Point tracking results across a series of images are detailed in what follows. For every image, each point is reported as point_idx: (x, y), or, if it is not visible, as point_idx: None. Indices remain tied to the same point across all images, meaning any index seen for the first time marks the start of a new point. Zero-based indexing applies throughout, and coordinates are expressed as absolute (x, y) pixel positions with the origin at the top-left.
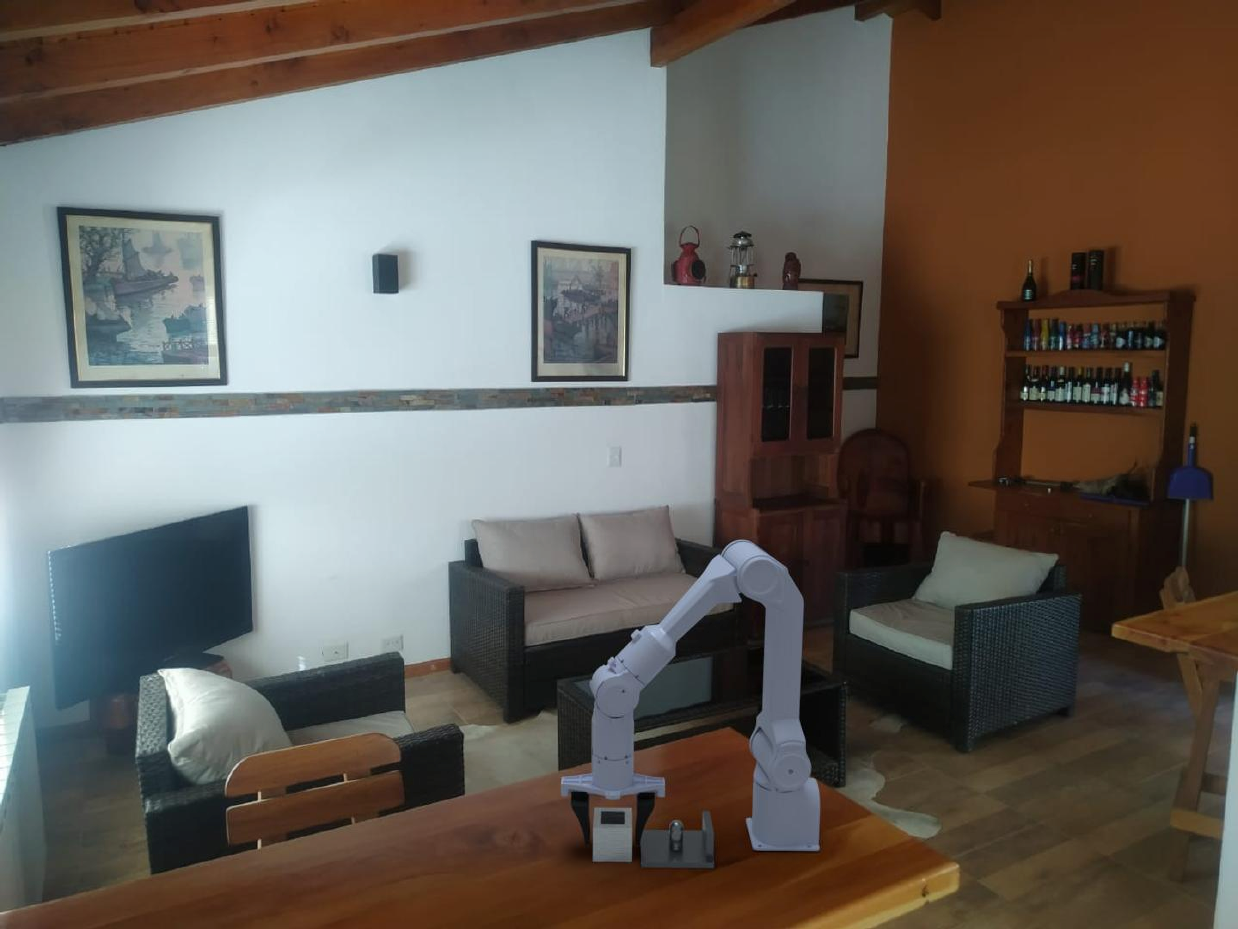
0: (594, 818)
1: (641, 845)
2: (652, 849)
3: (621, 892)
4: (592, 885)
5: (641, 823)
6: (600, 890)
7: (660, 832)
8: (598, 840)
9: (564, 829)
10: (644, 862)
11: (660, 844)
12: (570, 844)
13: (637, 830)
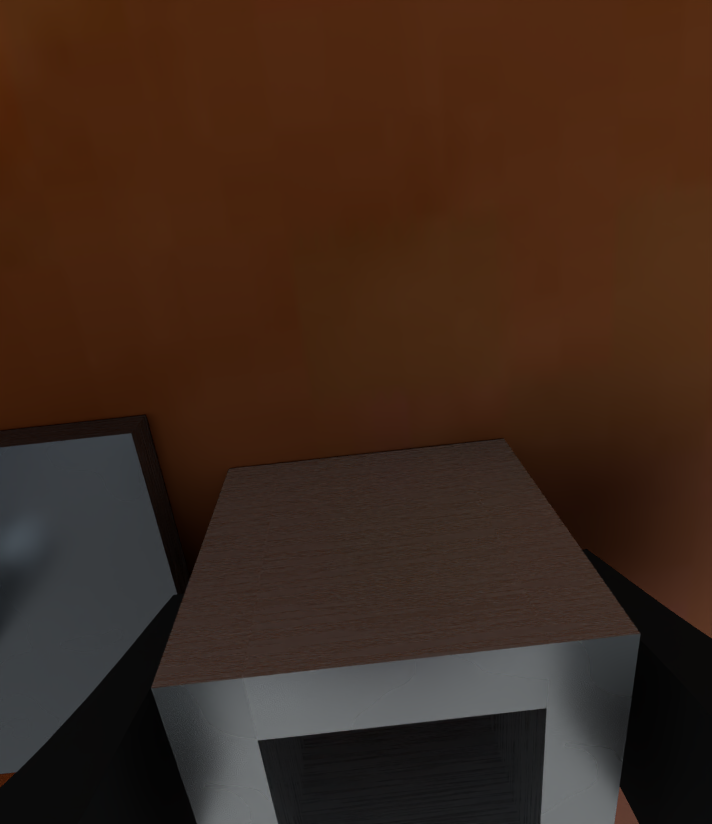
0: (612, 783)
1: None
2: (87, 586)
3: (238, 54)
4: (498, 135)
5: (49, 779)
6: (427, 65)
7: None
8: (518, 543)
9: None
10: (106, 435)
11: (48, 642)
12: (649, 589)
13: (137, 696)
